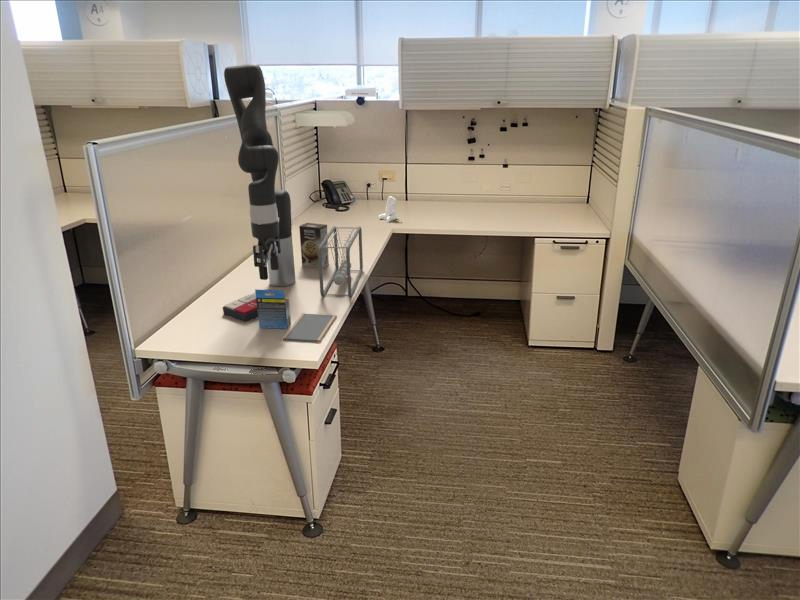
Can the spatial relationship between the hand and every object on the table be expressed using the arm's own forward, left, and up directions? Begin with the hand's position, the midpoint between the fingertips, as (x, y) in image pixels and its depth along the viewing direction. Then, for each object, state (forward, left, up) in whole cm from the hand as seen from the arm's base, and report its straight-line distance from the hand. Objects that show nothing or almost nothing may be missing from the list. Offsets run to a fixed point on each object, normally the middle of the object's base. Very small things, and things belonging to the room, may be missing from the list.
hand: (269, 274), depth 166 cm
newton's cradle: (-39, +11, -17) cm, 44 cm away
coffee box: (-58, -5, -17) cm, 61 cm away
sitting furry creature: (-135, +11, -17) cm, 137 cm away
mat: (0, +11, -16) cm, 20 cm away
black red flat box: (-11, -11, -17) cm, 23 cm away
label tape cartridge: (0, 0, -17) cm, 17 cm away
